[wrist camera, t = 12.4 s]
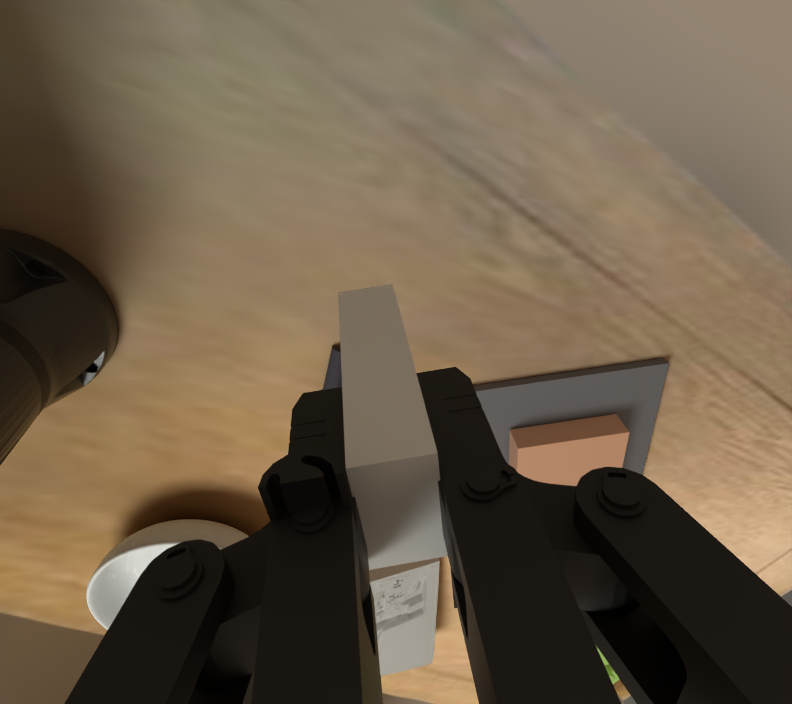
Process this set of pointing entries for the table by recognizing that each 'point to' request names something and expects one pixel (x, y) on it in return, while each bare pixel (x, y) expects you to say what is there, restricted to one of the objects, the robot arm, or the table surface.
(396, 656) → the ramp
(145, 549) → the serving bowl
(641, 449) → the mat
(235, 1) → the table surface
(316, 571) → the robot arm
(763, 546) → the table surface
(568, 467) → the tile
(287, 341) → the table surface
